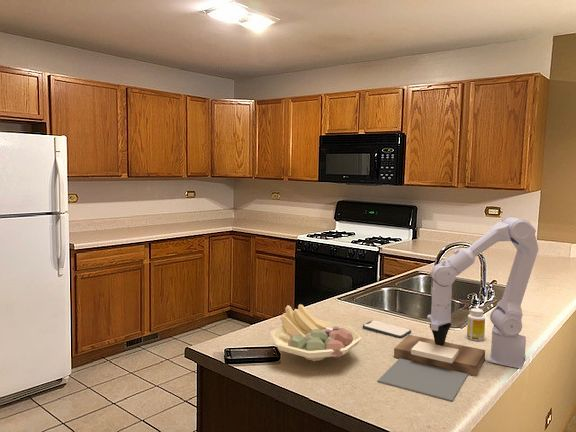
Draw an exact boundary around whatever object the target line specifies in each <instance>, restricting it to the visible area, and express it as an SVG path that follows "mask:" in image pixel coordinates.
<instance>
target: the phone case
mask: <svg viewBox="0 0 576 432" xmlns="http://www.w3.org/2000/svg"><path fill="white" fill-rule="evenodd" d="M362 329H363V330H366V331H370V332H373V333H377V334H381V335H383V336H384V335H385V336H388V337H393V338H395V339H397V338H398V339H405V338H406V337H407V336H408V335H411V334H412V329H410V328H406V327H403V326H398V325H396V324H391V323H387V322H383V321H380V320H375V319H372V320H370V321H368V322H365V323H363V324H362Z"/></svg>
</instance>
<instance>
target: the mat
mask: <svg viewBox="0 0 576 432" xmlns="http://www.w3.org/2000/svg"><path fill="white" fill-rule="evenodd" d="M468 376H469V375H468V374H466V373H462V372H457V371H453V370H449V369H444V368H440V367H436V366H431V365H427V364H423V363H418V362H414V361H410V360H405V359H401V358H397V360H396V361H395V362H394V363H393V364H392V365H391V366H390V367H389V368H388V369H387V370H386V371H385V372H384V373H383V374H382V375H381V376H380V377H379V378H378V380H377V383H381V384H384V385H387V386H391V387H395V388H399V389H402V390H407V391H409V392H410V391H411V392H414V393H418V394H422V395H425V396H429V397H432V398H436V399H440V400H444V401H448V402H453V401H454V400H455V398H456V396H457V394H458V393H459V392H460V389H461V388H462V386H463V384H464V382H465V381H466V379H467V378H468Z"/></svg>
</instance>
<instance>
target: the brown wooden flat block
mask: <svg viewBox="0 0 576 432" xmlns="http://www.w3.org/2000/svg"><path fill="white" fill-rule="evenodd" d="M419 341H421V342H426V343H431V344H435V340H434V338H429V337H421V336H419V335H412V334H409V335H407V336H405V337H404V338H403V340H401V341H400V342H399V343H398V344H396V345H395V347H394V348H393V358H395V359H399V358H401V359H405V360H410V361H414V362H418V363H423V364H427V365H431V366H436V367H440V368H444V369H449V370H453V371H457V372H462V373H466V374H468V376H473V377H476V376H477V375H478V372H479V371H480V369H481V368H482V365H483V364H484V362H485V360H486V349H483V348H477V347H473V346H467V345H462V344H458V343H453V342H449V341H448V342H447V341H445V344H444V346H445V347H450V348H455V349H459V354H458V356H457V357H456V358H455V360H454V361H453V363H448V362H443V361H439V360H435V359H430V358H426V357H421V356H417V355H412V354H411V349H412V348H413V347H414V346H415V345H416V344H417V343H418V342H419Z"/></svg>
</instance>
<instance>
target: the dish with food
mask: <svg viewBox="0 0 576 432" xmlns="http://www.w3.org/2000/svg"><path fill="white" fill-rule="evenodd" d="M280 321H281V323H282V325H281V326H279V327H276V328H275V329H273V330H271V331H270V332H269V333H270V335H271V337H272V338H273V339H272V340H273V341H274V343H275V346H277V348H278V350H279V351H281V352H285V353H288V354H292V355H295V356H299V357H303V358H305V360H309V361H312V362H316V361H317V362H318V361H323V360H324V359H325V358H340V357H342V356H344V355H345V354H347V353H348V352H349V351H350V350H352V349H353V348H355V347H356V346H357V345H358V344H359V343H360V342H361V340H362V337H361V336H360V335H359V334H358V333H357V332H356V331H355V330H354V329H353V328H352V327H351V326H350V325H347V324H342V323H337V322H332V321H327V320H322V319H317V318H316V317H315V316H313V314H312V313H311V312H310V311H309V310H308V309H307V308H306V307H305V306H304V305H303V304H301V303H300V304H298V306H297V308H294V310H293V308H292V307H291V306H290V305H288V304H287V306H286V307H285V312H284V313H282V315H281V316H280Z"/></svg>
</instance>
